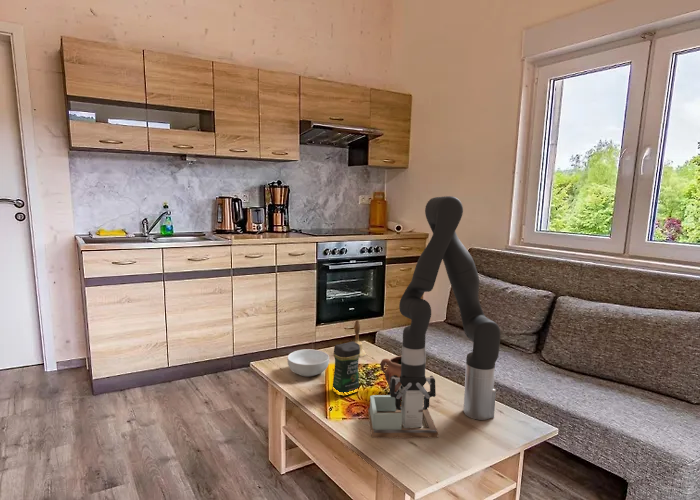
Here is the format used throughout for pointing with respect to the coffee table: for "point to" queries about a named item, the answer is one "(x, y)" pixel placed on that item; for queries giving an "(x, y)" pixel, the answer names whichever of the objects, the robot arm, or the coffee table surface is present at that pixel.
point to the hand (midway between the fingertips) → (411, 408)
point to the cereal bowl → (308, 362)
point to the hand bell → (357, 329)
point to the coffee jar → (346, 367)
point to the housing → (384, 419)
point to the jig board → (406, 432)
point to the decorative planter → (392, 370)
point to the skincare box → (412, 408)
